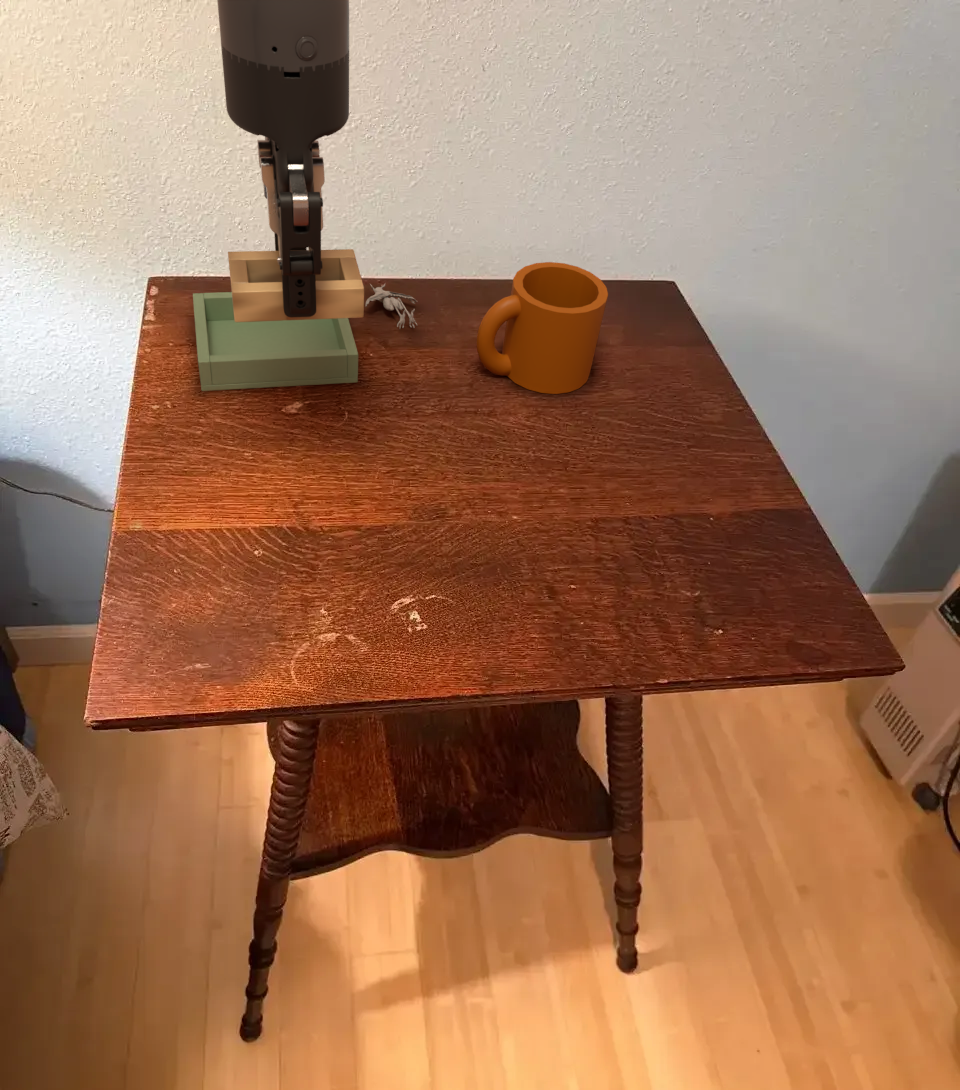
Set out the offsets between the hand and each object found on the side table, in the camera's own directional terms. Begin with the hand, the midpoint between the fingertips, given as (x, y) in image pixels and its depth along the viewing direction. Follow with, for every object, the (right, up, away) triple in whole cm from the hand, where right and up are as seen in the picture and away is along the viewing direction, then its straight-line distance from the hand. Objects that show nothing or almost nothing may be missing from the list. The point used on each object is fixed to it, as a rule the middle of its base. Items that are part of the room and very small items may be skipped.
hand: (295, 290), depth 68 cm
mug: (+18, -1, +25) cm, 31 cm away
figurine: (+6, +5, +29) cm, 30 cm away
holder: (-6, 0, +22) cm, 23 cm away
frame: (0, -1, +1) cm, 1 cm away
